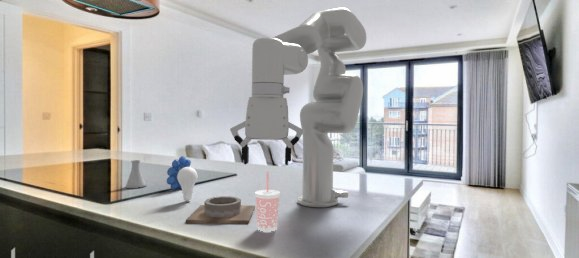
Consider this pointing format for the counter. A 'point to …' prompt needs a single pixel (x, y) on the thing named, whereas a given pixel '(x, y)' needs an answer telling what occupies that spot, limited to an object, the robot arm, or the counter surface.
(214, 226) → the counter surface
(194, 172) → the lightbulb
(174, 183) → the grapes
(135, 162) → the flask
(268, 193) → the beverage cup
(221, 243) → the counter surface
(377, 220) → the counter surface
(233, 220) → the coaster board
